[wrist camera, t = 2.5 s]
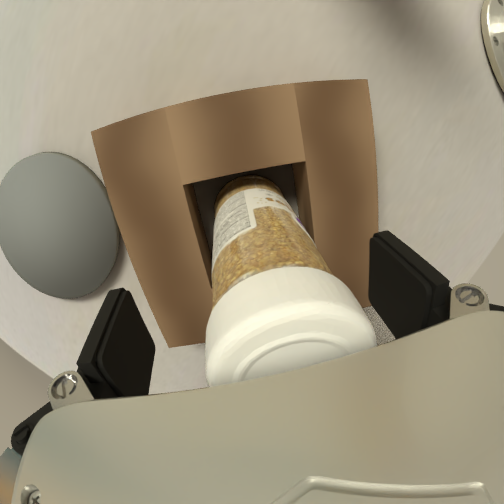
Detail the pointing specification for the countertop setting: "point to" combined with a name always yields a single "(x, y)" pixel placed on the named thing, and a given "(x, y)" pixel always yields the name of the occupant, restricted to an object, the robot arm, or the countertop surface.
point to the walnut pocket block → (235, 161)
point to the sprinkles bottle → (273, 291)
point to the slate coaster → (57, 225)
